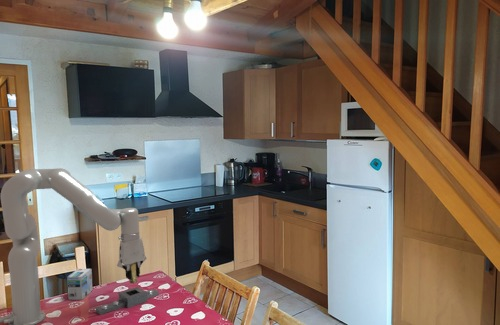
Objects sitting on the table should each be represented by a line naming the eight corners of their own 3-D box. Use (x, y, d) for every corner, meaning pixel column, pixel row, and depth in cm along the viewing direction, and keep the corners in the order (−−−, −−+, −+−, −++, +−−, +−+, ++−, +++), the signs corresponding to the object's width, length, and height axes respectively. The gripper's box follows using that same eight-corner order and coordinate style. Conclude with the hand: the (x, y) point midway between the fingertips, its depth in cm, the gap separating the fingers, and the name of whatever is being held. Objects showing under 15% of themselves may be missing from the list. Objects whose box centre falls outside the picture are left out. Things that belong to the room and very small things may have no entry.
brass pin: (131, 283, 162) (130, 261, 161) (128, 282, 164) (126, 259, 164) (138, 281, 164) (137, 259, 163) (135, 279, 167) (133, 258, 166)
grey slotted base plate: (102, 316, 151) (101, 307, 151) (93, 309, 157) (93, 300, 157) (161, 296, 169) (161, 287, 169) (151, 290, 176) (151, 282, 176)
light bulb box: (82, 300, 167) (81, 276, 166) (67, 300, 167) (66, 276, 167) (93, 290, 178) (92, 268, 177) (79, 290, 178) (78, 268, 177)
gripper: (115, 242, 154) (118, 285, 156) (151, 234, 166) (154, 274, 167) (108, 239, 160) (111, 280, 161) (143, 231, 171) (146, 270, 172)
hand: (133, 277), depth 164 cm, fingers closed on brass pin, 3 cm apart
